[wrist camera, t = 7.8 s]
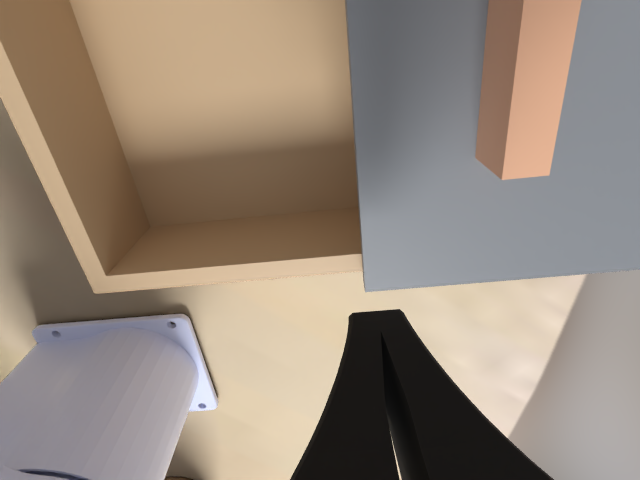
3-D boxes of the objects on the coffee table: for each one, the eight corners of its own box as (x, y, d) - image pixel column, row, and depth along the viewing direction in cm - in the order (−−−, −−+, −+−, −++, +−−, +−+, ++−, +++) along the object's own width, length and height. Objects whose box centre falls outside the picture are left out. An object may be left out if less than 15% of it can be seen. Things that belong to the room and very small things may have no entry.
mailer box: (144, 236, 20) (94, 293, 16) (-49, -287, 12) (-278, -483, 7) (413, 211, 19) (440, 264, 15) (419, -374, 11) (485, -655, 6)
